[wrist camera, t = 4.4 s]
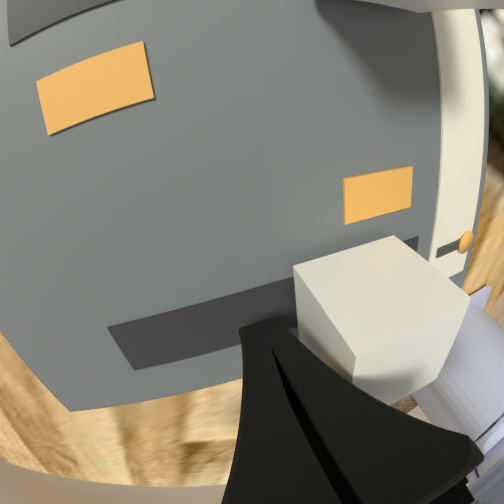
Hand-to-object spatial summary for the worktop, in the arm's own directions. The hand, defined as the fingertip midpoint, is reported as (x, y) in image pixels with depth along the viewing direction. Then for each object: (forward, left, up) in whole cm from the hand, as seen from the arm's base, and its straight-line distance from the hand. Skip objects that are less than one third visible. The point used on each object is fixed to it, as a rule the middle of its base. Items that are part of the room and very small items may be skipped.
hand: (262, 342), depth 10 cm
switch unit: (+6, -1, -3) cm, 7 cm away
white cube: (0, -3, -1) cm, 4 cm away
